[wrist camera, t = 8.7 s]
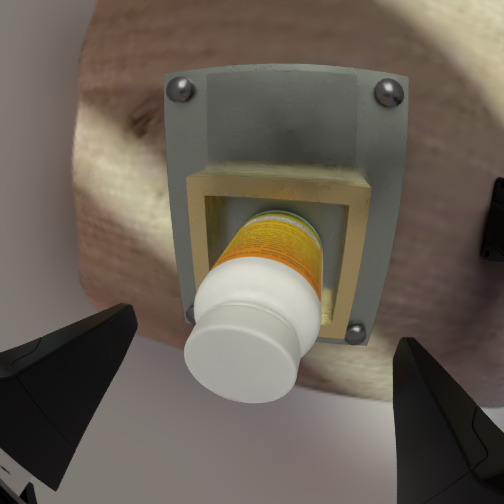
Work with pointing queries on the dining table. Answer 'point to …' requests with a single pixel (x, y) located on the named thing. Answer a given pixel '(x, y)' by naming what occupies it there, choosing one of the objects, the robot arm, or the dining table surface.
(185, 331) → the dining table surface
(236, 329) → the supplement bottle
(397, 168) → the grey fixture plate
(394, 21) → the dining table surface
